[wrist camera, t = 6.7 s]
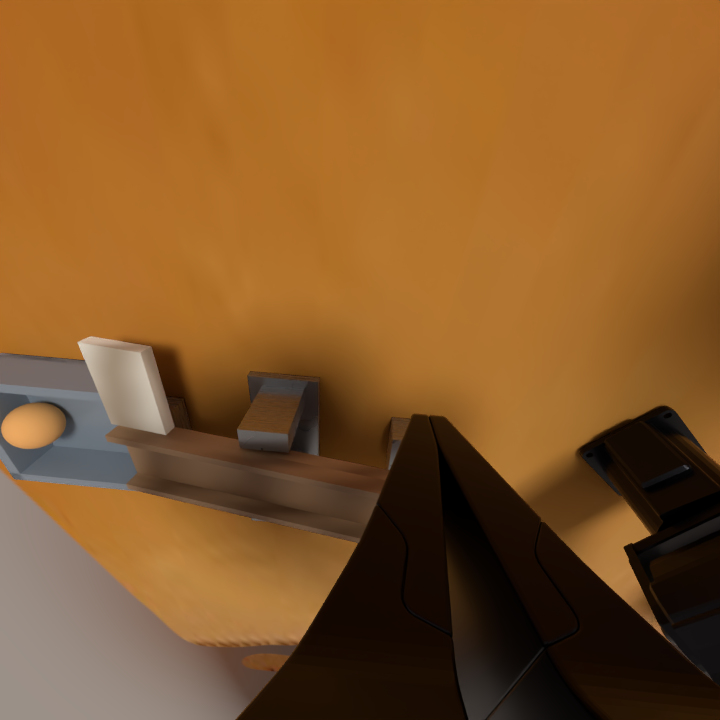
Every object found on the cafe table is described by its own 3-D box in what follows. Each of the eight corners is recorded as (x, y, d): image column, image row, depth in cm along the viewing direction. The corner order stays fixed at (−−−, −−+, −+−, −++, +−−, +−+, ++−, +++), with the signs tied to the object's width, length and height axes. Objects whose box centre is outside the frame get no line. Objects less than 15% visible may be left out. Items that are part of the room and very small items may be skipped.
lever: (445, 382, 17) (449, 439, 13) (414, 514, 22) (410, 580, 19) (106, 328, 20) (32, 362, 16) (152, 458, 25) (105, 505, 22)
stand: (424, 386, 23) (435, 438, 18) (405, 482, 28) (410, 541, 23) (147, 362, 23) (90, 406, 19) (177, 460, 28) (138, 514, 24)
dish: (140, 365, 23) (104, 393, 20) (170, 457, 28) (144, 491, 25) (1, 352, 24) (-55, 378, 21) (53, 446, 28) (14, 479, 25)
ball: (-24, 438, 22) (19, 407, 25) (27, 465, 24) (62, 433, 27) (1, 415, 21) (43, 385, 24) (52, 444, 23) (86, 413, 26)
